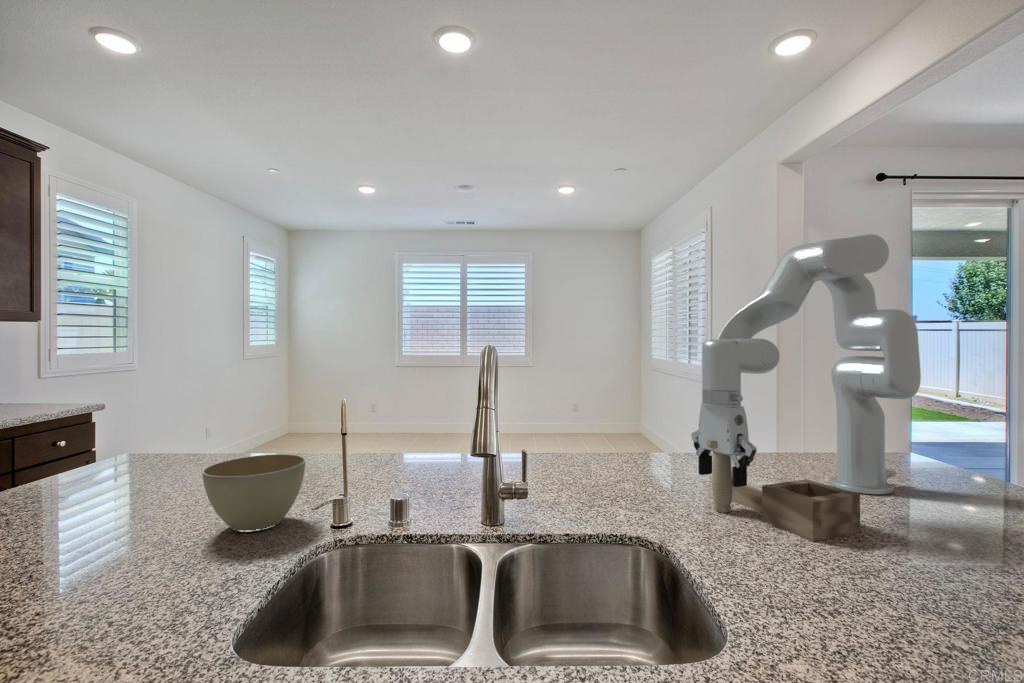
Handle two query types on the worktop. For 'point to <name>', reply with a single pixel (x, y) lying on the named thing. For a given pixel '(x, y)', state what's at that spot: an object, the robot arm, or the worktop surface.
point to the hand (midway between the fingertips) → (721, 479)
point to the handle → (721, 479)
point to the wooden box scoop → (804, 508)
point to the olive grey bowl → (254, 489)
